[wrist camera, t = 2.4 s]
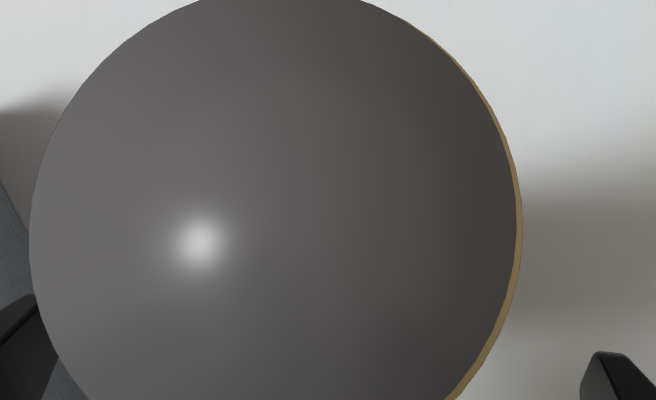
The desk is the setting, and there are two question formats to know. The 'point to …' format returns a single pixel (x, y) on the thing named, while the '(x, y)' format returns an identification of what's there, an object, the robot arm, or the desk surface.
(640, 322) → the desk surface
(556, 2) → the desk surface
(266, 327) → the plug
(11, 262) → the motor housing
